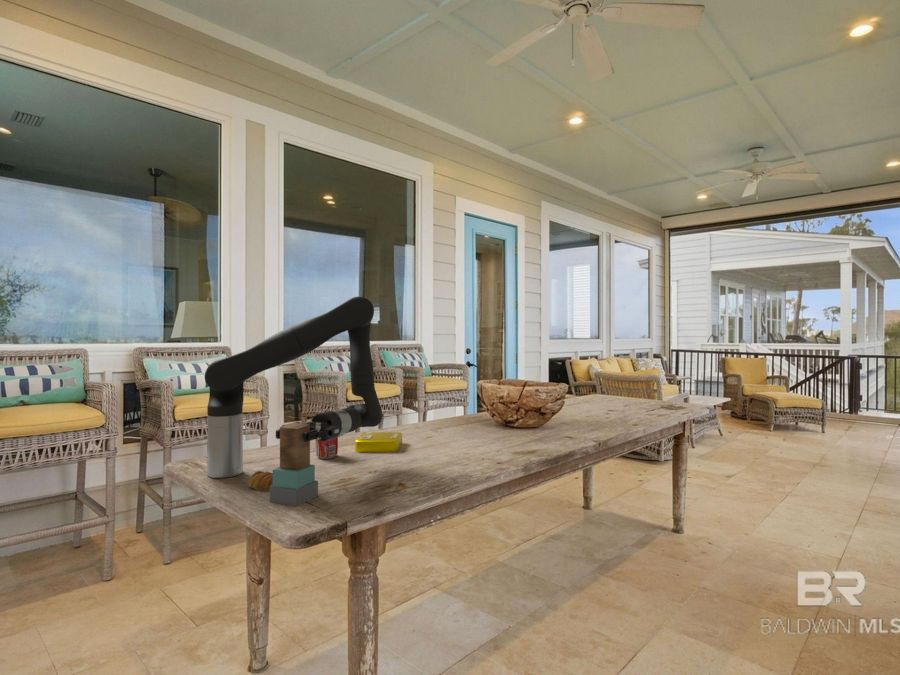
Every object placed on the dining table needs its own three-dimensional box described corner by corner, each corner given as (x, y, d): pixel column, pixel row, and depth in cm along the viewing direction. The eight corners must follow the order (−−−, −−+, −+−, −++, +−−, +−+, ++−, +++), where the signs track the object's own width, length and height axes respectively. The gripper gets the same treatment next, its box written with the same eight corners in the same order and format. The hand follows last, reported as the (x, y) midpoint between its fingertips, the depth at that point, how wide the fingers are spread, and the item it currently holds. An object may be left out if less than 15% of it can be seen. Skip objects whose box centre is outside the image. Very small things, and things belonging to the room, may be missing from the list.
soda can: (324, 453, 165) (324, 418, 165) (342, 455, 162) (342, 419, 162) (311, 458, 158) (311, 421, 158) (329, 460, 156) (329, 422, 156)
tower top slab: (272, 486, 117) (272, 469, 117) (291, 478, 124) (291, 462, 124) (297, 489, 115) (297, 472, 115) (314, 480, 122) (314, 464, 121)
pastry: (290, 486, 130) (290, 472, 130) (270, 494, 124) (269, 479, 124) (265, 481, 134) (265, 467, 134) (244, 488, 128) (244, 474, 128)
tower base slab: (269, 502, 117) (269, 486, 117) (292, 492, 125) (292, 477, 125) (296, 507, 114) (295, 490, 114) (318, 496, 122) (318, 480, 122)
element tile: (397, 453, 166) (397, 439, 166) (353, 453, 166) (353, 439, 166) (402, 443, 181) (402, 430, 181) (362, 443, 181) (362, 430, 181)
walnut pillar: (280, 468, 118) (279, 427, 118) (293, 462, 123) (292, 422, 122) (297, 470, 116) (297, 428, 116) (310, 464, 121) (309, 424, 121)
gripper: (310, 409, 136) (267, 418, 121) (353, 412, 131) (314, 422, 116) (310, 436, 136) (267, 448, 121) (353, 440, 131) (314, 454, 116)
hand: (290, 436), depth 119 cm, fingers open, 8 cm apart
